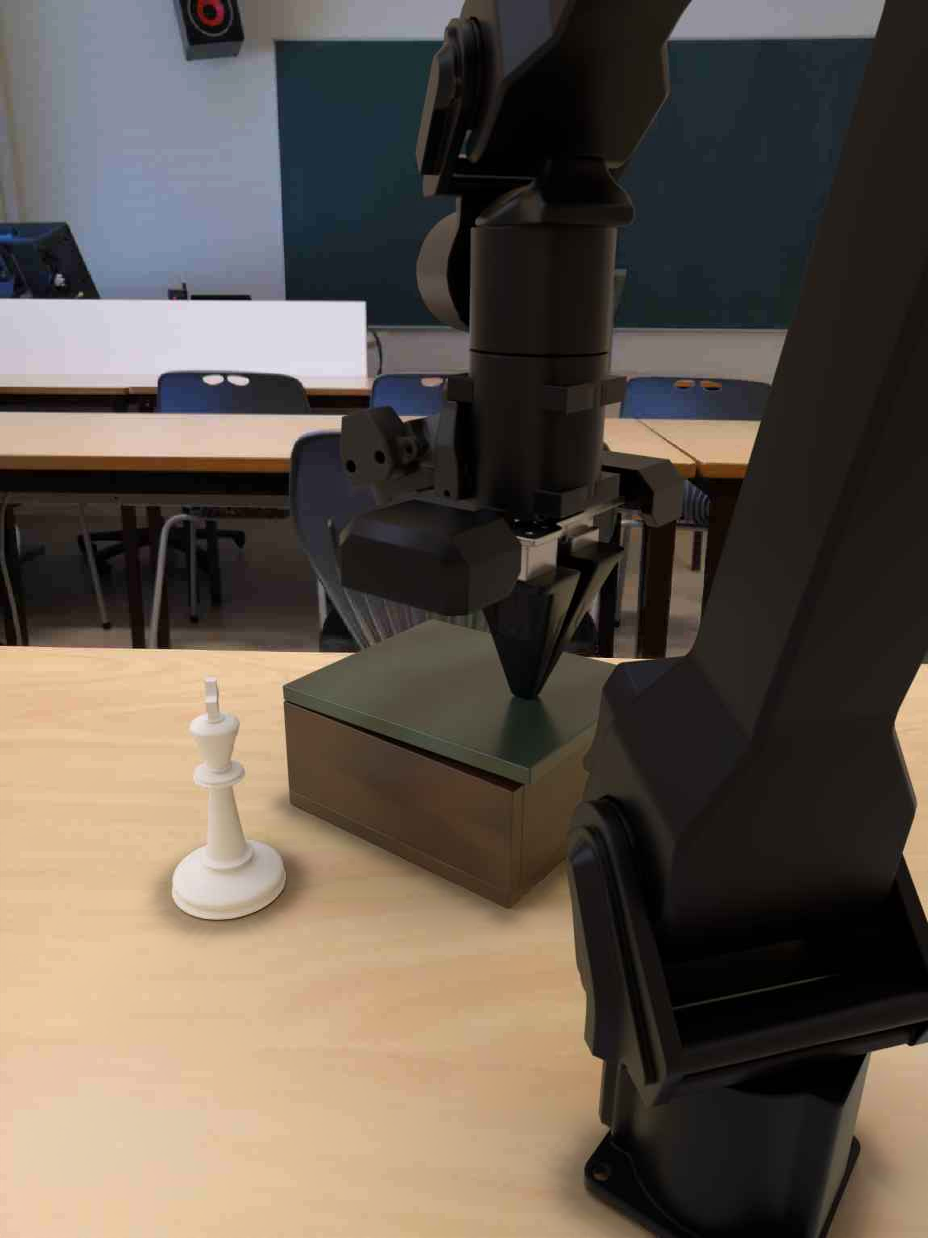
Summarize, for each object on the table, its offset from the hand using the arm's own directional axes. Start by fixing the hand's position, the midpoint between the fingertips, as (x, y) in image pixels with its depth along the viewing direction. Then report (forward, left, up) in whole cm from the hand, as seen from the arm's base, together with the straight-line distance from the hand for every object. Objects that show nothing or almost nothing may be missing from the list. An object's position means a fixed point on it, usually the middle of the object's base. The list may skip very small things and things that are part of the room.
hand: (525, 695), depth 44 cm
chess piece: (+8, +12, -7) cm, 16 cm away
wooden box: (+4, 0, -7) cm, 8 cm away
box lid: (+3, 0, -1) cm, 3 cm away
